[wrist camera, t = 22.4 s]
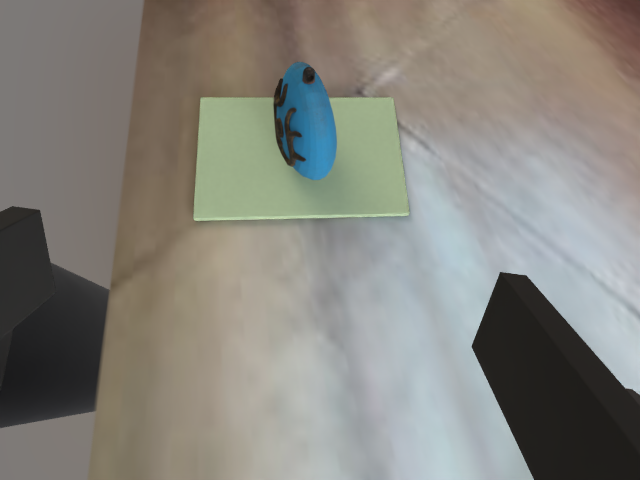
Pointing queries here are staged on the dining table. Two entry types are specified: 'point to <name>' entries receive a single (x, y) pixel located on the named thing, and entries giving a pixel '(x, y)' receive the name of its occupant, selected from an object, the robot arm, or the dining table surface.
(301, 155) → the ornament
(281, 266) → the dining table surface
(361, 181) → the mat
